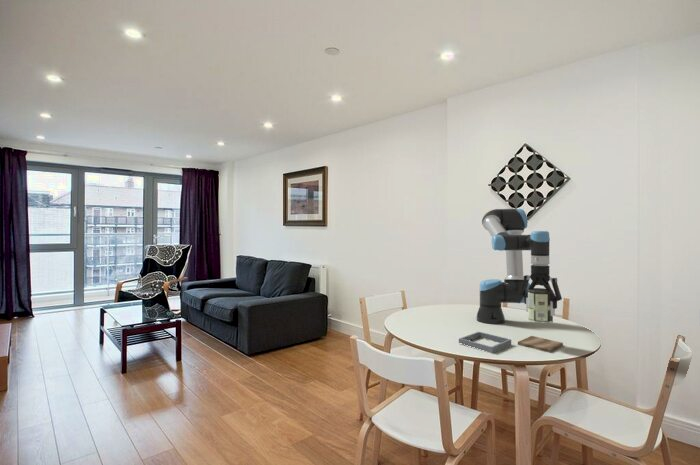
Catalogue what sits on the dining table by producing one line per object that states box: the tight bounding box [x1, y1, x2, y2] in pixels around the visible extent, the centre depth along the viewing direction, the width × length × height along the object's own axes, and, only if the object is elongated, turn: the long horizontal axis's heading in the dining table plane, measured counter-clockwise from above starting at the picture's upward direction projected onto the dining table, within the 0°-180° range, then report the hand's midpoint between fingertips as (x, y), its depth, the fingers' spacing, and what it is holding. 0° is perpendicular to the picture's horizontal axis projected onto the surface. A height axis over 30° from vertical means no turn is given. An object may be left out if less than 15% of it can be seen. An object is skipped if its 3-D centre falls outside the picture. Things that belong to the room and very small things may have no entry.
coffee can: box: [527, 287, 554, 324], centre depth 166 cm, size 10×10×14 cm
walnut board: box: [517, 335, 564, 353], centre depth 166 cm, size 14×14×1 cm
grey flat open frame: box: [458, 331, 512, 354], centre depth 168 cm, size 17×17×2 cm
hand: (540, 313), depth 166 cm, fingers closed on coffee can, 10 cm apart
